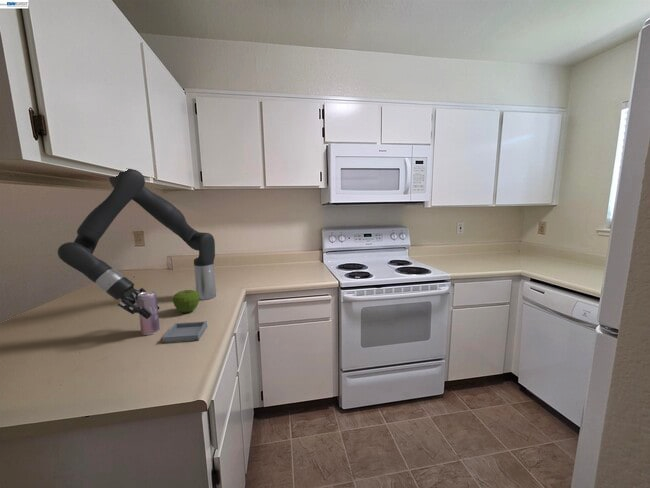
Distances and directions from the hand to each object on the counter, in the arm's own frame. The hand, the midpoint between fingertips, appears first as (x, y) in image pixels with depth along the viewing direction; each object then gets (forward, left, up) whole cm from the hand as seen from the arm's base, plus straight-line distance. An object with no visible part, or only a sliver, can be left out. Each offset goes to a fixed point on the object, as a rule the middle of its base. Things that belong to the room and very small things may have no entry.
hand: (153, 313), depth 104 cm
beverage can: (0, -2, -7) cm, 8 cm away
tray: (+4, +12, -7) cm, 15 cm away
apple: (-19, +5, -7) cm, 21 cm away
